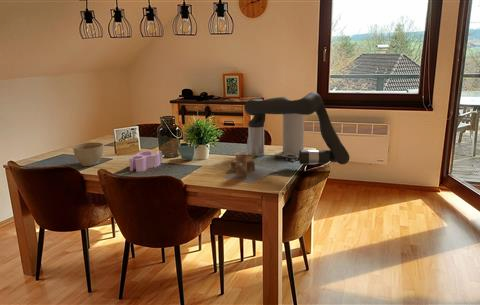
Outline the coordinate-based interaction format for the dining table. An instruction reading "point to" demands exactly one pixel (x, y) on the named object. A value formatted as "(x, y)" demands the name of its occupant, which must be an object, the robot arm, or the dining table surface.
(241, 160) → the one dot tile
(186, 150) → the flower pot
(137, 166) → the clip
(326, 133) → the robot arm
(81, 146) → the planter bowl
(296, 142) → the cylinder vase
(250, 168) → the two dot tile
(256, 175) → the felt board
